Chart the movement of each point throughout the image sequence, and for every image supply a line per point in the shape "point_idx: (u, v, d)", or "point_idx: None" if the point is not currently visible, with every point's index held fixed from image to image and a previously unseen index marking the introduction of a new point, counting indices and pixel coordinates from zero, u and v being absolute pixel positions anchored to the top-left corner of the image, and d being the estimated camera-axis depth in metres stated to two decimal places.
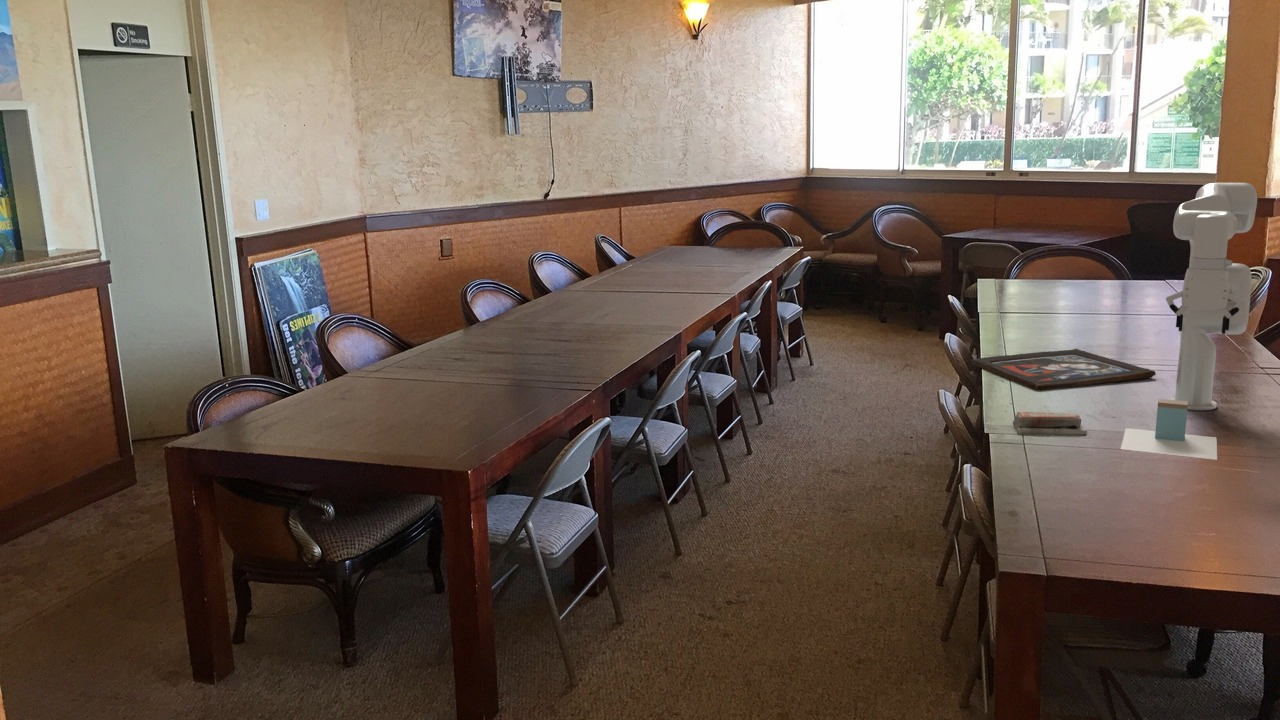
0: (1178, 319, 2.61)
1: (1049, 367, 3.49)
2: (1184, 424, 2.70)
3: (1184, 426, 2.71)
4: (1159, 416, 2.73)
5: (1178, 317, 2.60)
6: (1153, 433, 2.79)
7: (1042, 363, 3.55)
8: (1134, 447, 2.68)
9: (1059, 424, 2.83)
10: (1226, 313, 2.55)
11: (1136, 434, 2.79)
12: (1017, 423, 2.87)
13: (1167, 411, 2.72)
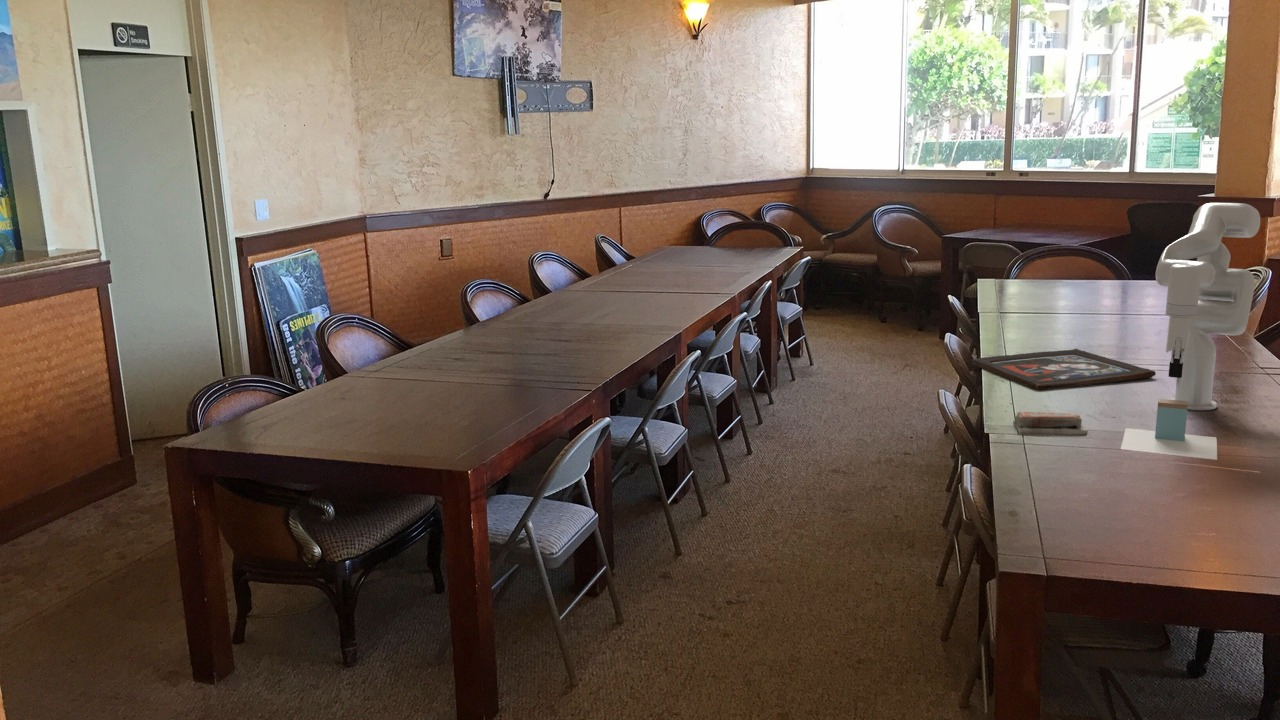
0: (1179, 367, 2.77)
1: (1049, 367, 3.49)
2: (1184, 424, 2.70)
3: (1184, 426, 2.71)
4: (1159, 416, 2.73)
5: (1179, 365, 2.77)
6: (1153, 433, 2.79)
7: (1042, 363, 3.55)
8: (1134, 447, 2.68)
9: (1060, 424, 2.83)
10: None
11: (1136, 434, 2.79)
12: (1017, 423, 2.87)
13: (1167, 411, 2.72)
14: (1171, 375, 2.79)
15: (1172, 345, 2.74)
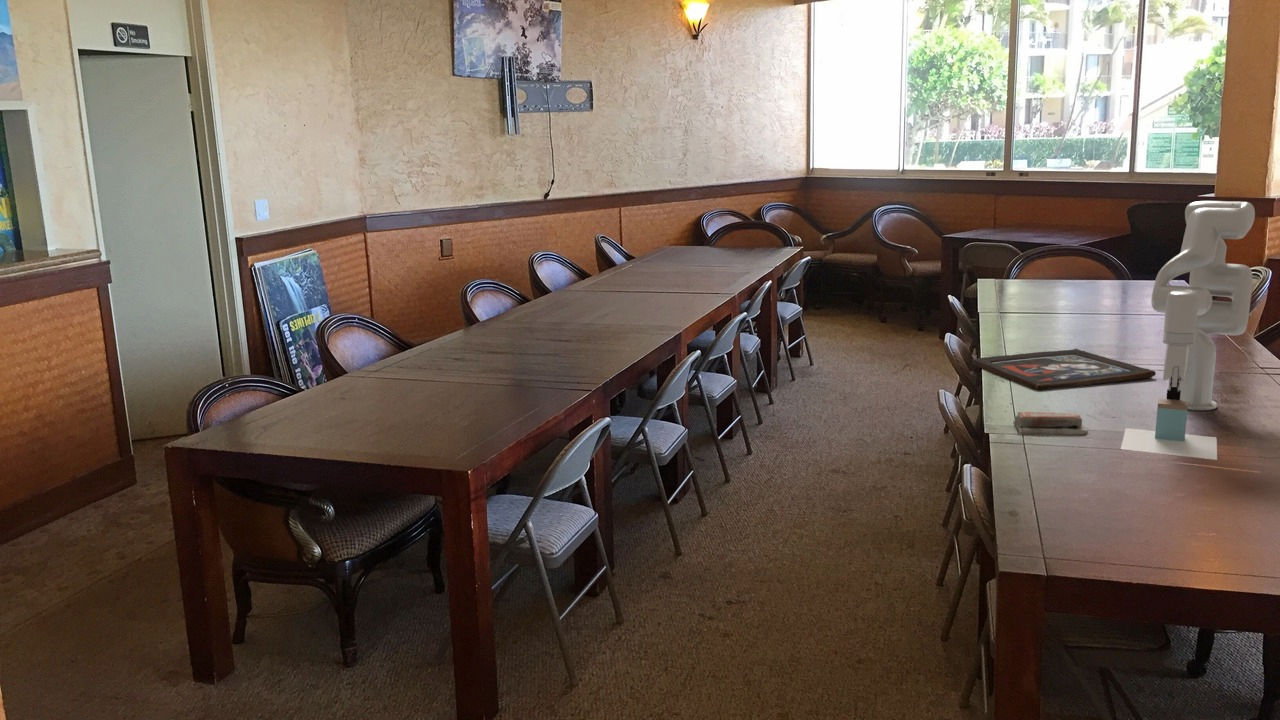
0: (1176, 395, 2.73)
1: (1049, 367, 3.49)
2: (1184, 425, 2.70)
3: (1184, 426, 2.70)
4: (1159, 417, 2.72)
5: (1177, 393, 2.73)
6: (1153, 433, 2.79)
7: (1042, 363, 3.55)
8: (1134, 447, 2.68)
9: (1060, 424, 2.83)
10: None
11: (1136, 434, 2.79)
12: (1018, 423, 2.87)
13: (1167, 412, 2.71)
14: None
15: (1169, 374, 2.69)
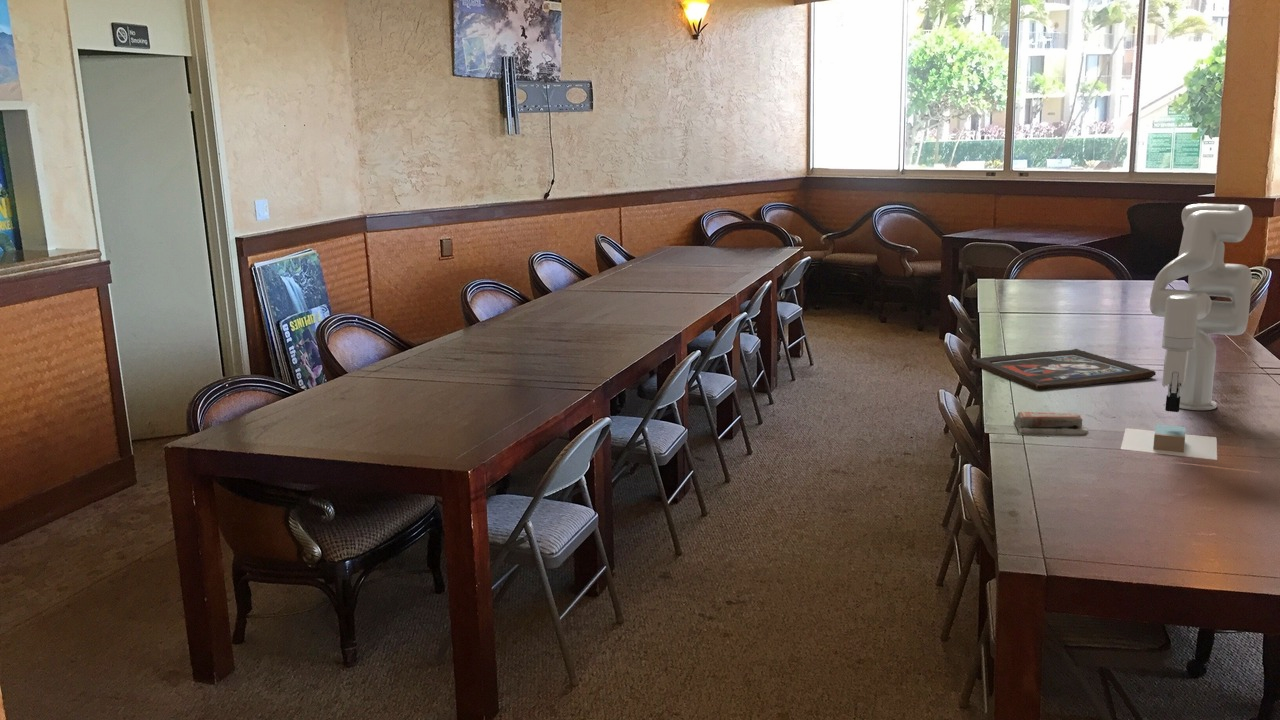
0: (1176, 401, 2.68)
1: (1049, 367, 3.49)
2: None
3: None
4: None
5: (1176, 399, 2.68)
6: (1153, 433, 2.79)
7: (1042, 363, 3.55)
8: (1134, 447, 2.68)
9: (1060, 424, 2.83)
10: None
11: (1136, 434, 2.79)
12: (1018, 423, 2.87)
13: None
14: (1168, 409, 2.70)
15: (1169, 379, 2.64)
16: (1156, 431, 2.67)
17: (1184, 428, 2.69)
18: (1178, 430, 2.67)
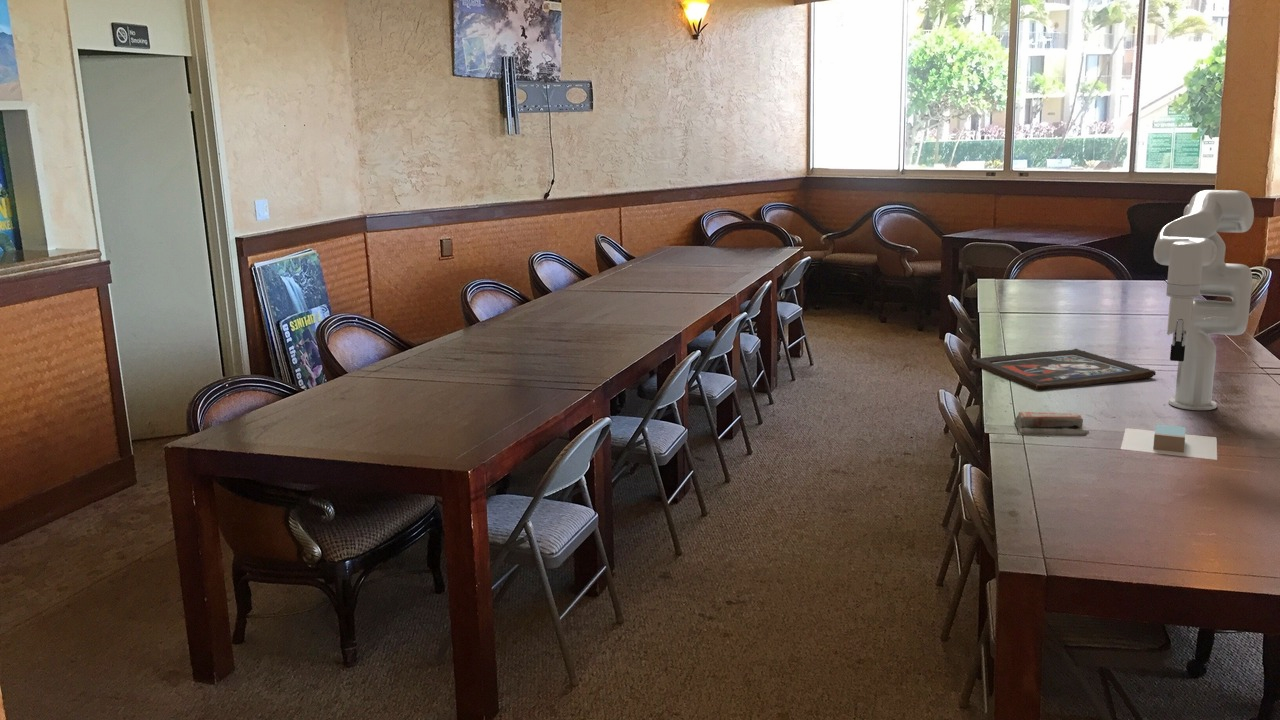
0: (1181, 350, 2.63)
1: (1049, 367, 3.49)
2: None
3: None
4: None
5: (1181, 348, 2.63)
6: (1153, 433, 2.79)
7: (1042, 363, 3.55)
8: (1134, 447, 2.68)
9: (1061, 424, 2.83)
10: None
11: (1136, 434, 2.79)
12: (1019, 423, 2.87)
13: None
14: (1173, 358, 2.65)
15: (1173, 327, 2.59)
16: (1156, 431, 2.67)
17: (1184, 428, 2.69)
18: (1178, 430, 2.67)
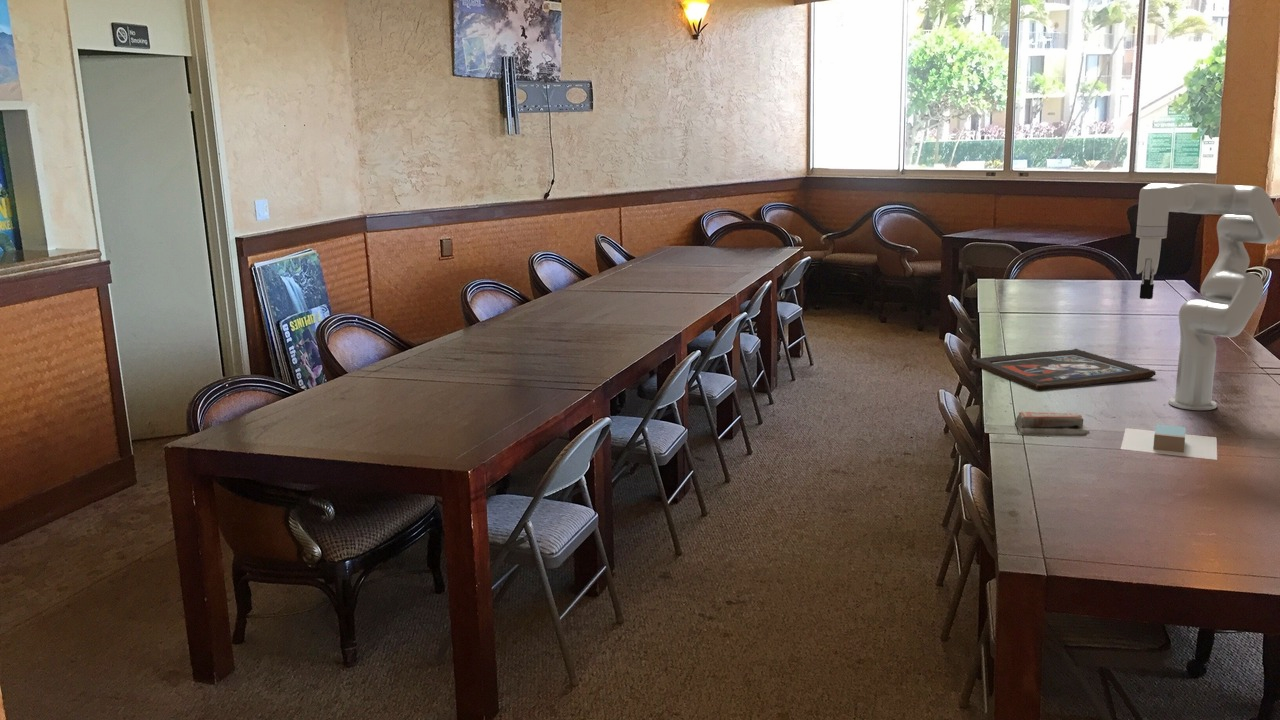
0: (1149, 288, 2.83)
1: (1049, 367, 3.49)
2: None
3: None
4: None
5: (1150, 286, 2.83)
6: (1153, 433, 2.79)
7: (1042, 363, 3.55)
8: (1134, 447, 2.68)
9: (1062, 424, 2.83)
10: None
11: (1136, 434, 2.79)
12: (1019, 423, 2.87)
13: None
14: (1142, 297, 2.84)
15: (1142, 266, 2.79)
16: (1156, 431, 2.67)
17: (1184, 428, 2.69)
18: (1178, 430, 2.67)
